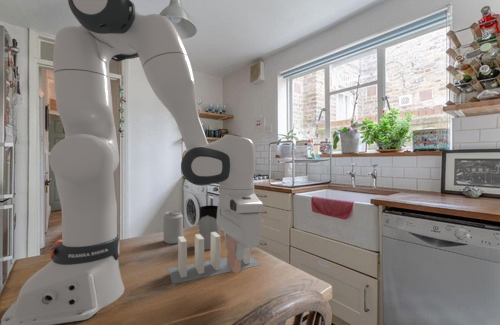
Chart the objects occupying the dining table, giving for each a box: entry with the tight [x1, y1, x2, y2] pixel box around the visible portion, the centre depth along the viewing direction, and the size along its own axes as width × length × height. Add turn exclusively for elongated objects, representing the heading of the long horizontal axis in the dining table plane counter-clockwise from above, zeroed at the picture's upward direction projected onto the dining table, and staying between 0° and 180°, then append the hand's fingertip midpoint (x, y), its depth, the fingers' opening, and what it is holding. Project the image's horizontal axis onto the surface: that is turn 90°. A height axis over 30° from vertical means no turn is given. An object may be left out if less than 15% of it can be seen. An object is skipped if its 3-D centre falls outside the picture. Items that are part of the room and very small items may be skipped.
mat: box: [167, 255, 262, 285], centre depth 75 cm, size 27×10×1 cm, turn 116°
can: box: [163, 210, 184, 245], centre depth 98 cm, size 8×8×12 cm
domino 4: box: [227, 235, 242, 274], centre depth 61 cm, size 2×5×10 cm, turn 26°
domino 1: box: [177, 235, 188, 278], centre depth 70 cm, size 2×5×10 cm, turn 26°
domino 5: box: [241, 248, 251, 264], centre depth 79 cm, size 2×5×10 cm, turn 26°
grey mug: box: [198, 204, 221, 250], centre depth 96 cm, size 9×14×15 cm, turn 178°
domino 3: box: [210, 232, 222, 270], centre depth 75 cm, size 2×5×10 cm, turn 26°
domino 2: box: [194, 233, 205, 274], centre depth 72 cm, size 2×5×10 cm, turn 26°
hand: (234, 253), depth 61 cm, fingers closed on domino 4, 5 cm apart
